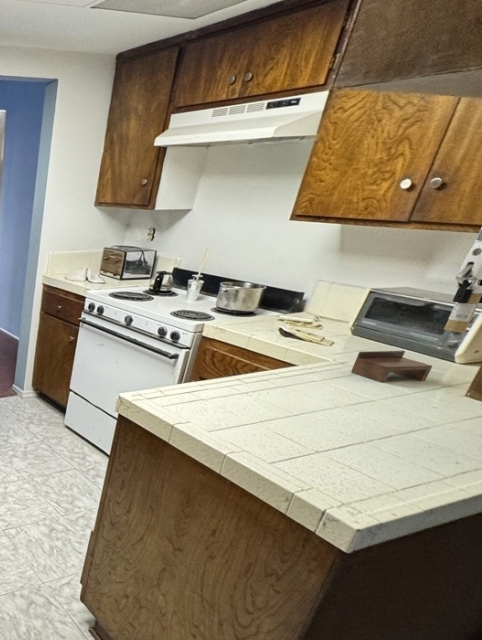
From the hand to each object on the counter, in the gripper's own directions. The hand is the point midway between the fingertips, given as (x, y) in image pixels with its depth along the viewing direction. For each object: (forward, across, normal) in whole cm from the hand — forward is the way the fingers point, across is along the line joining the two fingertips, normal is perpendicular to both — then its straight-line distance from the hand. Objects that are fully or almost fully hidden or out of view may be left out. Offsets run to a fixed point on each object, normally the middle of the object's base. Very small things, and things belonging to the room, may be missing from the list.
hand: (467, 301), depth 138 cm
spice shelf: (+24, -13, +2) cm, 27 cm away
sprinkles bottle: (+9, 0, 0) cm, 9 cm away
